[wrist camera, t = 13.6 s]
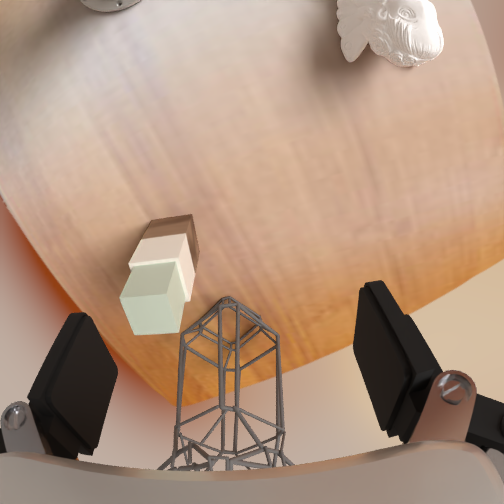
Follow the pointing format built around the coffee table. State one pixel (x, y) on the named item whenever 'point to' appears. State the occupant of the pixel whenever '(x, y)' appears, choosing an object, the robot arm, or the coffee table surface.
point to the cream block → (167, 257)
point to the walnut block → (176, 232)
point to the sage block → (154, 299)
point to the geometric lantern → (222, 373)
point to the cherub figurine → (390, 30)
